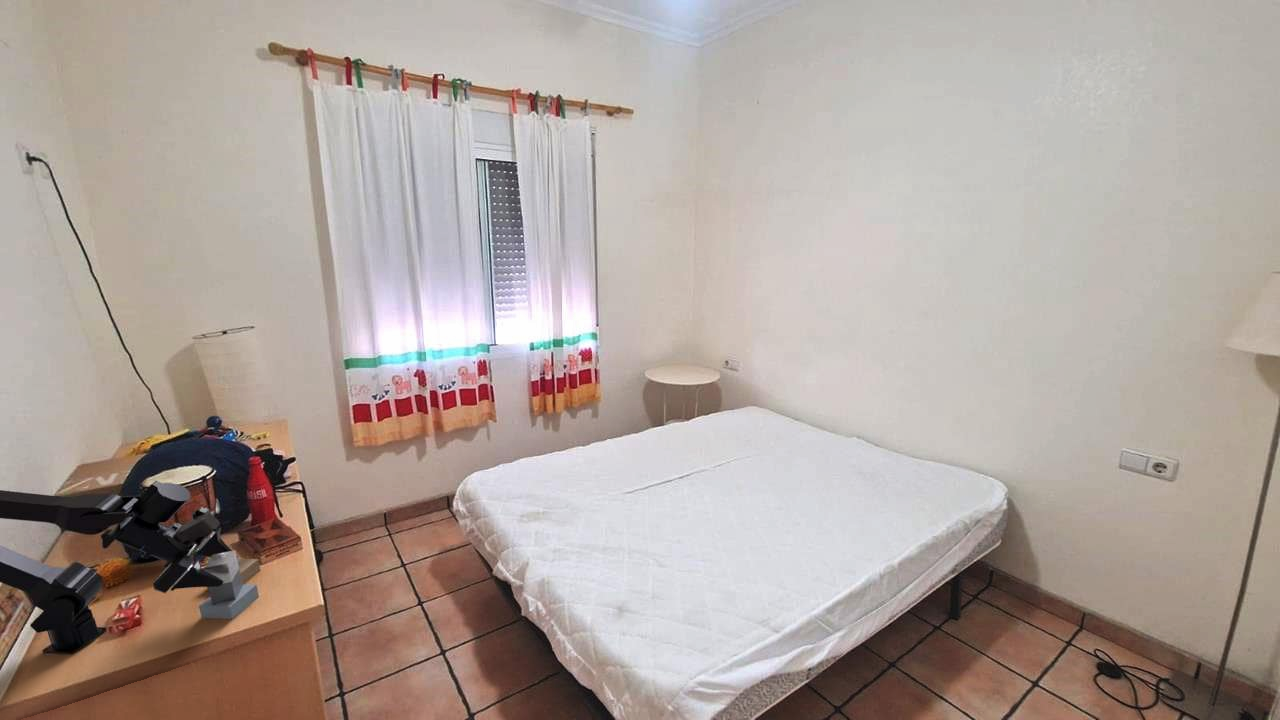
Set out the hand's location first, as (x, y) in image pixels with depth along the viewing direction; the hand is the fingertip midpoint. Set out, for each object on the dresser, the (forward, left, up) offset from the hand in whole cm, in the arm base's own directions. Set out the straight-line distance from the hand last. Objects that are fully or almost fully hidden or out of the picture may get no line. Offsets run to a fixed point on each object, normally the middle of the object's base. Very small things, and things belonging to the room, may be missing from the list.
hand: (229, 571), depth 109 cm
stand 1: (-8, +8, -9) cm, 15 cm away
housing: (-1, -1, -6) cm, 6 cm away
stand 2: (-1, -1, -9) cm, 9 cm away
